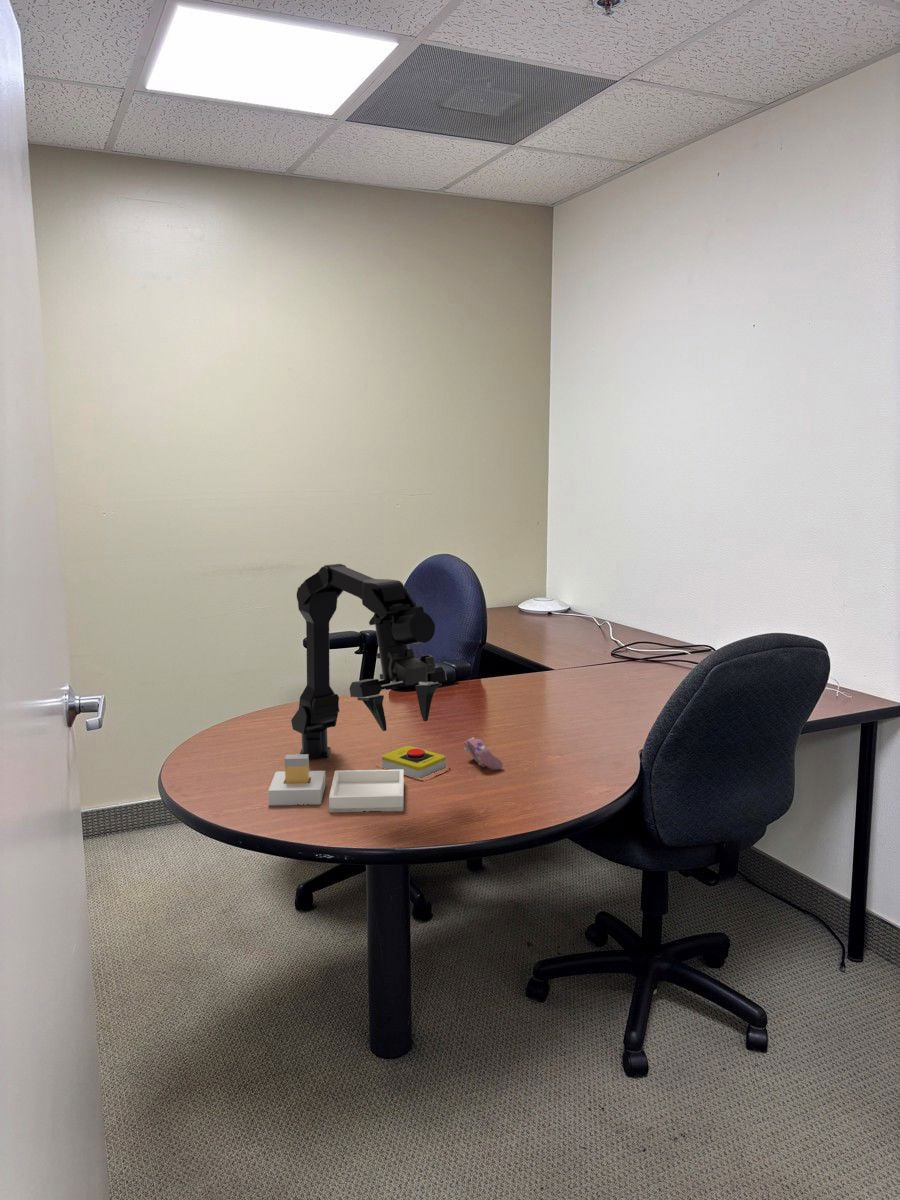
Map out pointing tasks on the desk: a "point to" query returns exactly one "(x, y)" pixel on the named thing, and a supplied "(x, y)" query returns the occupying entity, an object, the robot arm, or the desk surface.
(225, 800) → the desk surface
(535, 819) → the desk surface
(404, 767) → the emergency button
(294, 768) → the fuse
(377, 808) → the parts tray
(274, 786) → the white slotted block
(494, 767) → the video game controller
